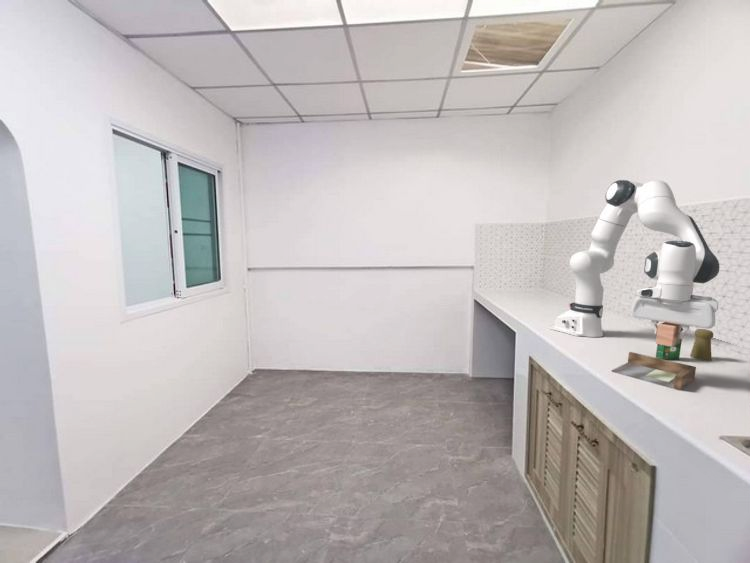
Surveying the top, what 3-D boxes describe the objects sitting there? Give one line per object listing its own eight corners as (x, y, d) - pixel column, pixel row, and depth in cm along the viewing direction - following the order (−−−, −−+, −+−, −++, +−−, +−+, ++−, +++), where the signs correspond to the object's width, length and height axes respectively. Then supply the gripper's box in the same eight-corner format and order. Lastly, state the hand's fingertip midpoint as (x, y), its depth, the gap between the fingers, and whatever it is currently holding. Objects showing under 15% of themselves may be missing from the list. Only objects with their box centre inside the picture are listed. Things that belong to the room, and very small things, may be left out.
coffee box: (672, 356, 135) (676, 323, 133) (680, 359, 132) (684, 324, 130) (654, 357, 133) (658, 323, 131) (662, 360, 130) (666, 325, 129)
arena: (611, 371, 117) (612, 359, 117) (629, 362, 126) (630, 351, 126) (680, 390, 103) (681, 377, 103) (694, 379, 112) (696, 366, 112)
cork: (692, 358, 133) (696, 330, 131) (687, 354, 138) (691, 326, 137) (714, 361, 130) (718, 332, 129) (708, 357, 135) (712, 329, 134)
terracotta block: (663, 339, 116) (665, 321, 115) (679, 342, 113) (681, 324, 112) (655, 343, 111) (657, 324, 110) (671, 346, 108) (674, 327, 107)
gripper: (721, 297, 104) (715, 342, 105) (638, 288, 120) (634, 328, 121) (716, 298, 100) (710, 346, 101) (631, 290, 116) (627, 331, 118)
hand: (668, 336), depth 112 cm, fingers closed on terracotta block, 4 cm apart
